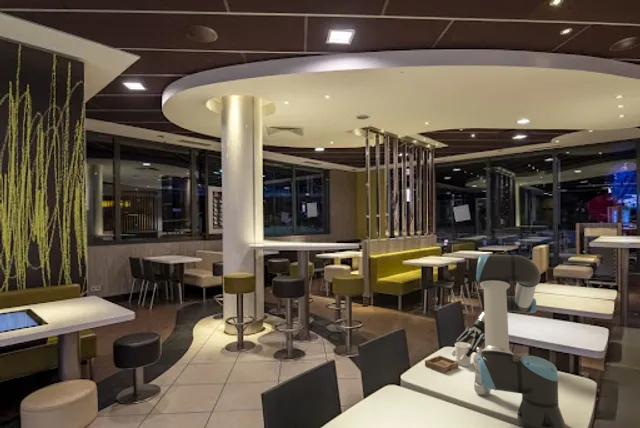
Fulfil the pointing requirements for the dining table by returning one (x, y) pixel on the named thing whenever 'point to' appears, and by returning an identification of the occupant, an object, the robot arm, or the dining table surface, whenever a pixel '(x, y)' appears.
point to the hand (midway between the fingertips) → (457, 357)
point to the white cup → (460, 350)
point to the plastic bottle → (478, 384)
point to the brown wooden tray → (441, 364)
